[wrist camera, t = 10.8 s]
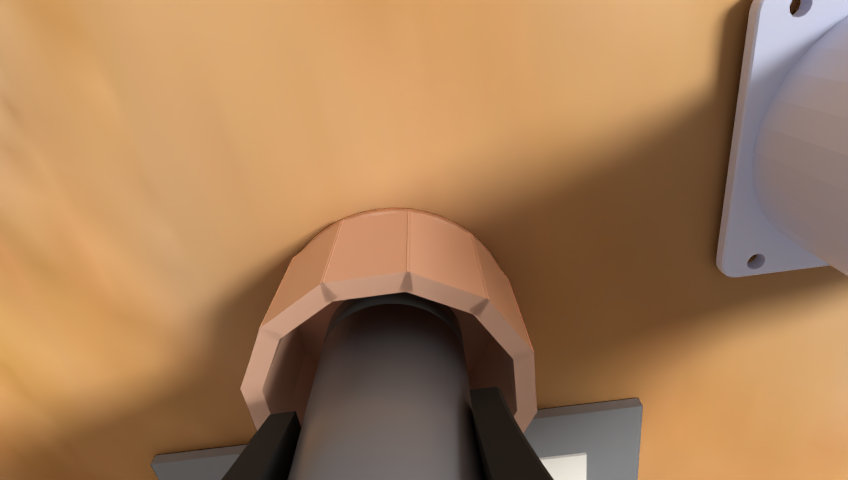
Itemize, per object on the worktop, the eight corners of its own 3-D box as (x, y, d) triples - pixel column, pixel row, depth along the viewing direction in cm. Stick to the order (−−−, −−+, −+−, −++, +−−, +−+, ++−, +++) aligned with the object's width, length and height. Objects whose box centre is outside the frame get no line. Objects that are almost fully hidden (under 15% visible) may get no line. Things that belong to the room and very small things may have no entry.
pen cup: (500, 191, 14) (529, 254, 11) (514, 383, 17) (541, 482, 14) (255, 225, 15) (204, 297, 11) (313, 407, 18) (287, 511, 14)
